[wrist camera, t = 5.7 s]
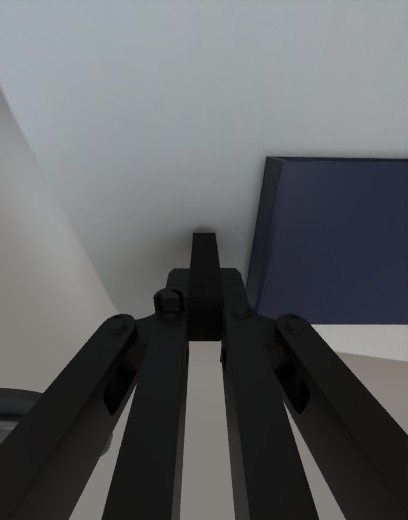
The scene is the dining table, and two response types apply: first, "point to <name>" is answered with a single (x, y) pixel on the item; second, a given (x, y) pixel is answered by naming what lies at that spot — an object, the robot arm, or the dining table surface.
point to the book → (332, 241)
